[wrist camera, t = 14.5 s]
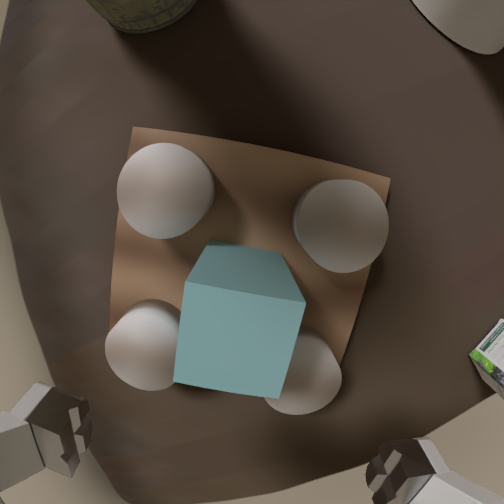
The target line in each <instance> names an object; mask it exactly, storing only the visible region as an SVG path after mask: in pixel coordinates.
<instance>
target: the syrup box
mask: <svg viewBox="0 0 504 504" xmlns="http://www.w3.org/2000/svg"><path fill="white" fill-rule="evenodd" d="M469 356H470V357H471V359H472V361H473V363H474V364H475V366H476V368H477V370H478V372H479V374H480V376H481V377H482V379H483V380H484V381H485V382H486V383H487V384H488V385H489V386H490V387H491V388H492V389H493V390H494V391H496V392H497V393H498V394H499V395H500V396H501V397H502V398H503V399H504V319H502V318H501V319H500V320H499V321H498V323H497V325H496V326H495V327H494V328H493V329H492V330H491V331H490V332H489V334H488V335H487V336H486V337H485V338H484V339H483V340H482V341H481V342H480V344H479V345H478V346H477V347H476V348H475V349H474V350H473V351H472V352H471V353H470V354H469Z"/></svg>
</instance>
